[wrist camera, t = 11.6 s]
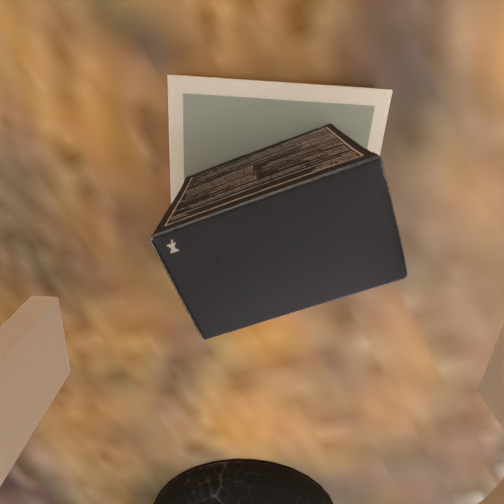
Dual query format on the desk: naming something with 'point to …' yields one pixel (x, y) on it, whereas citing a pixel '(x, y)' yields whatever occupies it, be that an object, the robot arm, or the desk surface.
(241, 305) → the small box
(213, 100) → the base
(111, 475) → the desk surface
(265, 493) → the banker's lamp
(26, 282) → the desk surface
